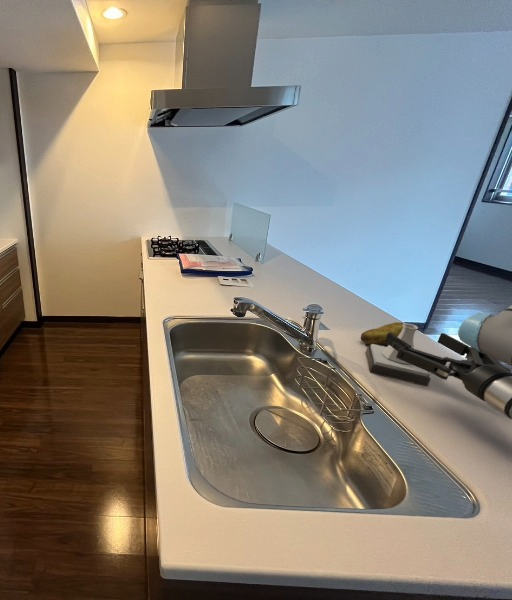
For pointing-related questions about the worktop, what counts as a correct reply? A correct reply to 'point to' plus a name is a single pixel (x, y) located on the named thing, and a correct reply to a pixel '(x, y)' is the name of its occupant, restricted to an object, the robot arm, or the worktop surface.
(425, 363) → the robot arm
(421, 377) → the scale
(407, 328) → the flask
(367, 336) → the potato
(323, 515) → the worktop surface
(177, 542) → the worktop surface
